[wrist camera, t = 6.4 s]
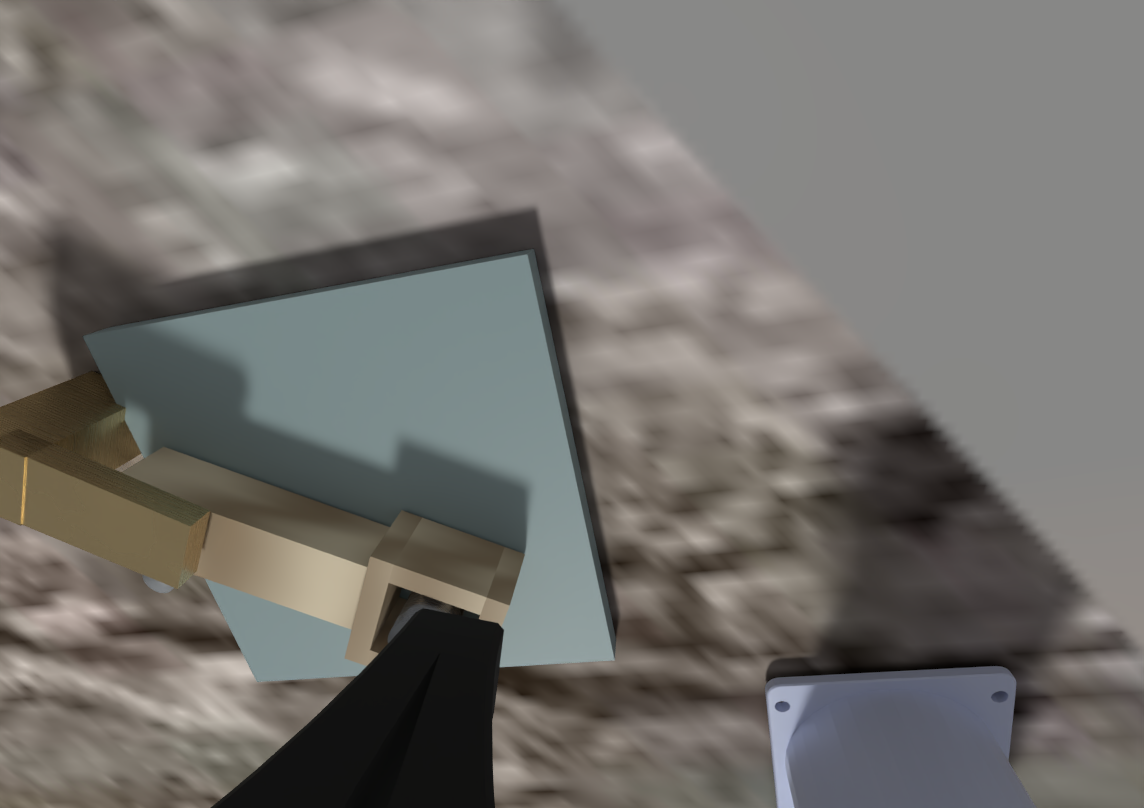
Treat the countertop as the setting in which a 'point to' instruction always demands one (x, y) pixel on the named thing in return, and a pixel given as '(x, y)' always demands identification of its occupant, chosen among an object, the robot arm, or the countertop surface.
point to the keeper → (92, 483)
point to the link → (332, 553)
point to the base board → (384, 436)
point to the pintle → (416, 604)
